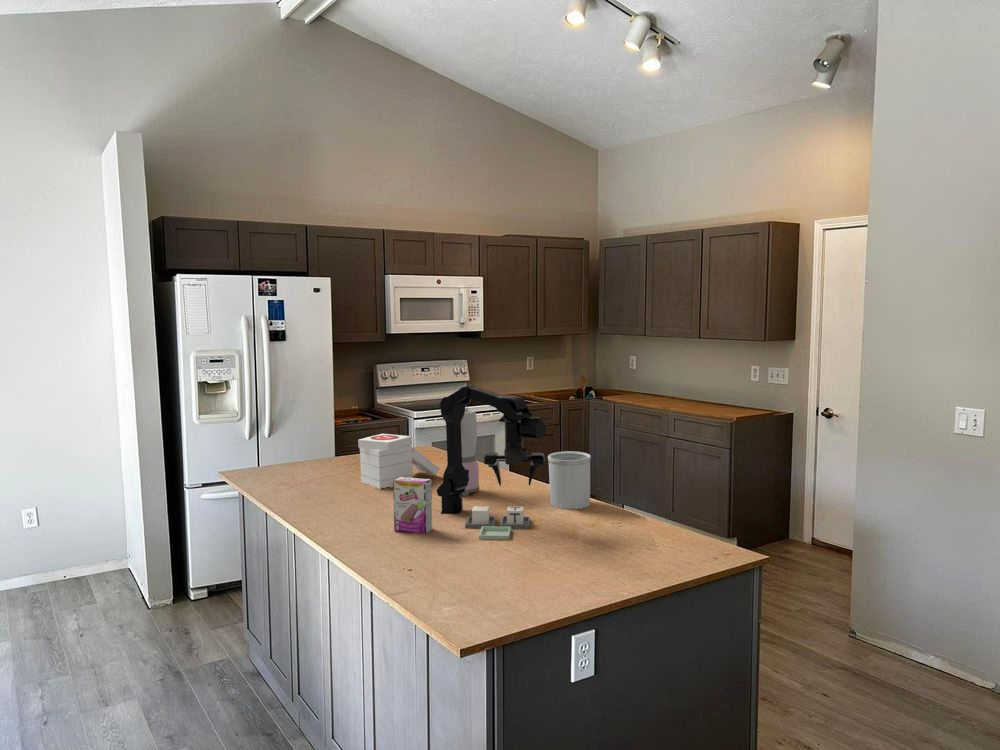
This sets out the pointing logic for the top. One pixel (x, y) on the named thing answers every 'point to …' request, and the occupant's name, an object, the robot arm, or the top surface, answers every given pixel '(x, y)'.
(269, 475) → the top surface
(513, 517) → the letter cube
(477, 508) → the blank cube
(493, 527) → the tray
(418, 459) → the pizza boxes
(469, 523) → the tray left
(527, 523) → the tray right
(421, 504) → the candy bar box
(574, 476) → the utensil holder
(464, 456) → the blender
